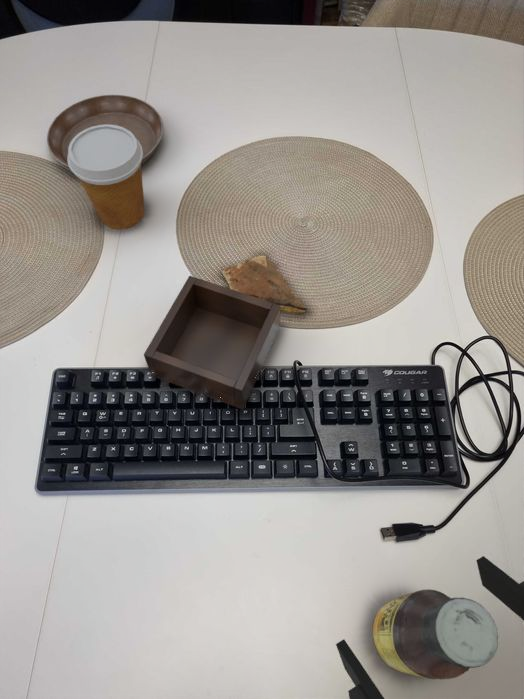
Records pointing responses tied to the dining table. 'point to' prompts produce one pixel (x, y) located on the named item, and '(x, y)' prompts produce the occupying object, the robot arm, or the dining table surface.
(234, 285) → the quesadilla slice
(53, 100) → the dining table surface
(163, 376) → the box
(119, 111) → the plant saucer
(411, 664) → the sauce bottle
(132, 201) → the disposable coffee cup
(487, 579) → the robot arm
